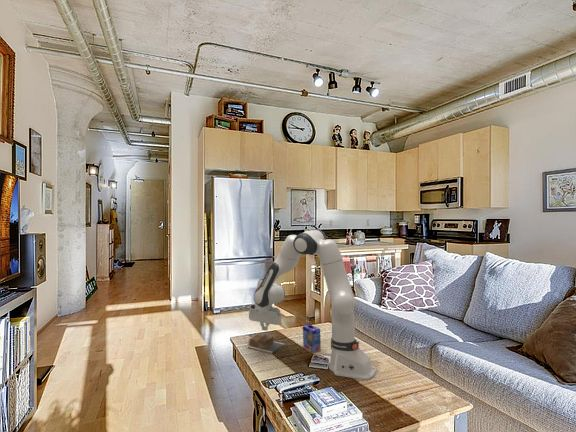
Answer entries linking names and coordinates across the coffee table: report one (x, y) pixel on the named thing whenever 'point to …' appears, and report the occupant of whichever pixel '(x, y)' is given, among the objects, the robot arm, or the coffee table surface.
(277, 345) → the mat
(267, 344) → the slab
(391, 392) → the coffee table surface
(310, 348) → the ink cartridge box
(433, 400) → the coffee table surface
